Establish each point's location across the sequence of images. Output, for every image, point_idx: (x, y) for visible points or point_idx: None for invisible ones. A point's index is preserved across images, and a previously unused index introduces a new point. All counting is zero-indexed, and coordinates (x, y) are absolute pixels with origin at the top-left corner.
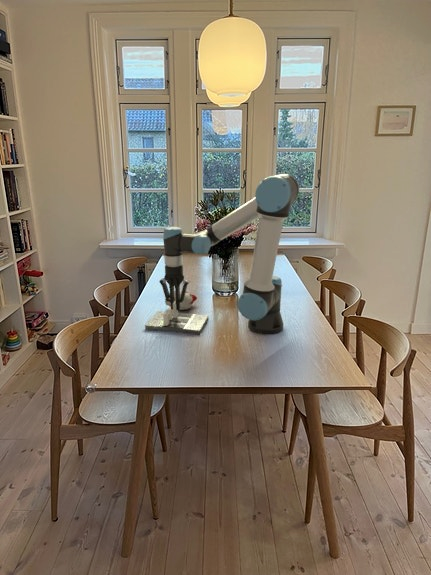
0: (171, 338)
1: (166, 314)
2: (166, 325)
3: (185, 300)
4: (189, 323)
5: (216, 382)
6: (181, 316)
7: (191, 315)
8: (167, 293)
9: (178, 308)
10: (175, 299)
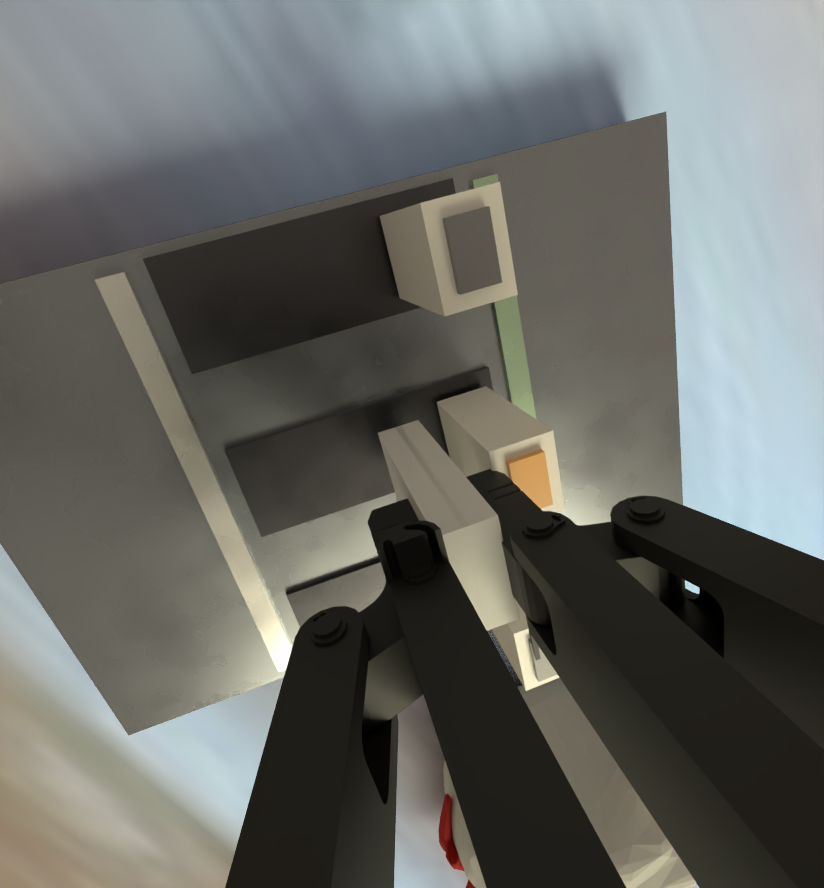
0: (178, 10)
1: (448, 218)
2: None
3: None
4: (174, 447)
5: None
6: None
7: None
8: (784, 640)
9: (377, 523)
10: (616, 763)
